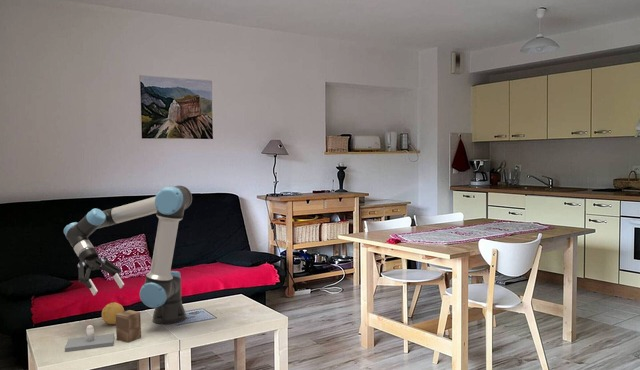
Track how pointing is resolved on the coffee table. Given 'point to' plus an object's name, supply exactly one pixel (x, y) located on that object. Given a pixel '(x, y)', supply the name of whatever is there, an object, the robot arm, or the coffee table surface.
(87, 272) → the robot arm
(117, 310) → the stress ball
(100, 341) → the stub plate
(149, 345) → the coffee table surface
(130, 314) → the brown wooden block
